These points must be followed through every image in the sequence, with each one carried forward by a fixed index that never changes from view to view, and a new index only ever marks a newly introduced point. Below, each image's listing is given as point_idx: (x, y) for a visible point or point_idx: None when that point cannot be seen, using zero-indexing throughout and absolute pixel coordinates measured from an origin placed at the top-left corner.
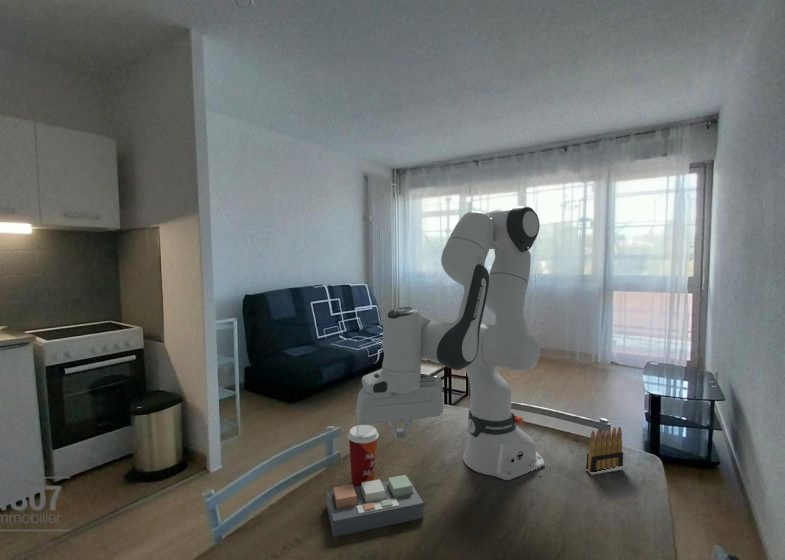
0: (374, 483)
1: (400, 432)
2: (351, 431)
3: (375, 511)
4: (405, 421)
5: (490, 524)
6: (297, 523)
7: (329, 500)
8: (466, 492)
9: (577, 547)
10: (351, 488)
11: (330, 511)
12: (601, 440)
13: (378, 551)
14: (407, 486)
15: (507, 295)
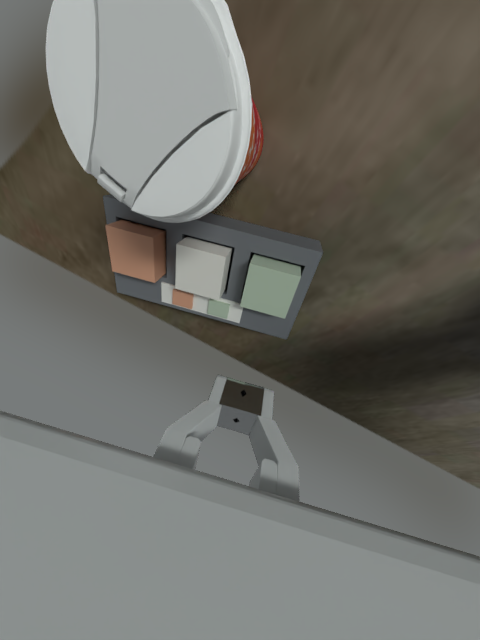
0: (206, 265)
1: (229, 426)
2: (57, 80)
3: (192, 310)
4: (253, 480)
5: (369, 382)
6: (73, 214)
7: None
8: (429, 316)
9: (417, 448)
10: (147, 253)
11: None
12: None
13: (191, 333)
14: (273, 315)
15: None
